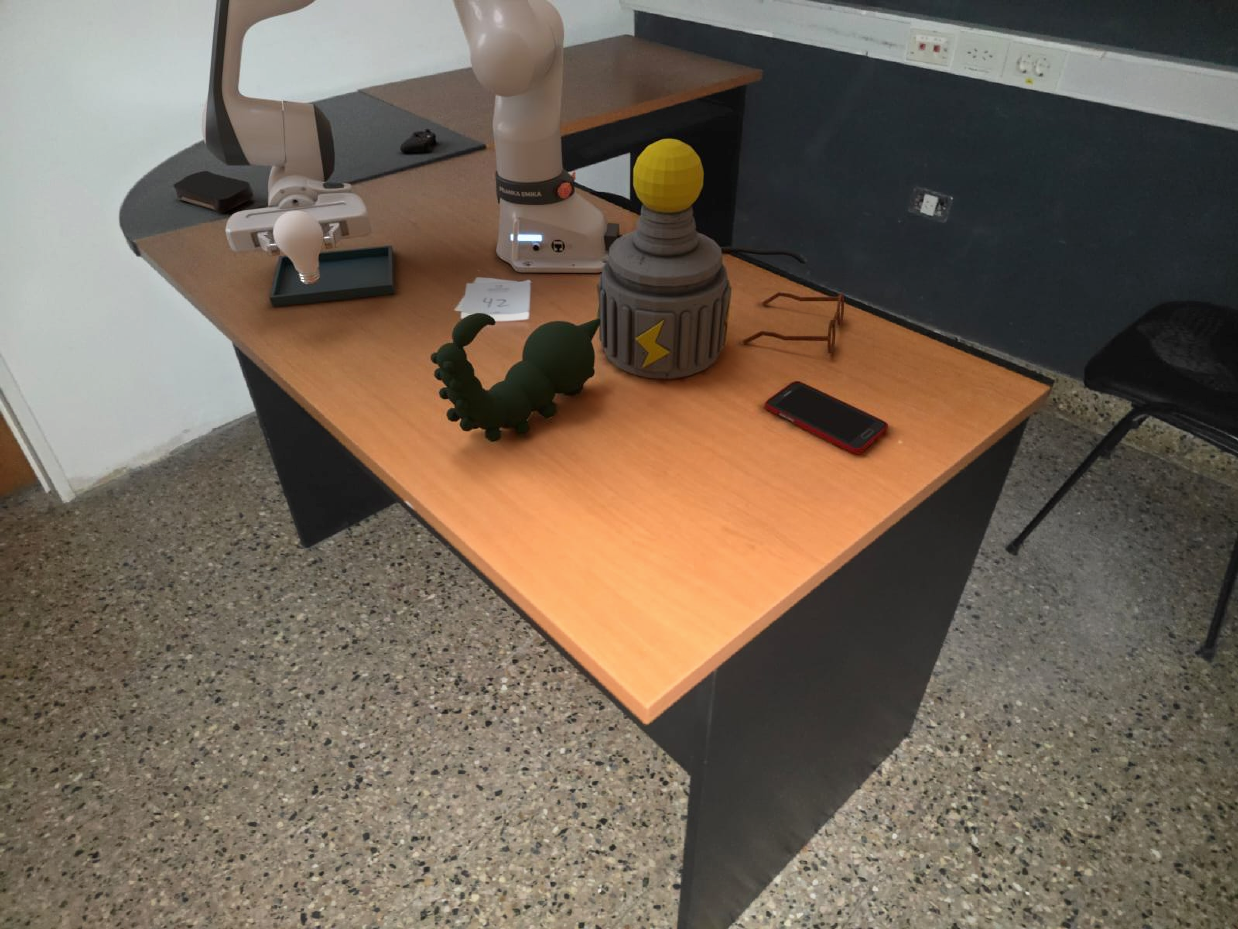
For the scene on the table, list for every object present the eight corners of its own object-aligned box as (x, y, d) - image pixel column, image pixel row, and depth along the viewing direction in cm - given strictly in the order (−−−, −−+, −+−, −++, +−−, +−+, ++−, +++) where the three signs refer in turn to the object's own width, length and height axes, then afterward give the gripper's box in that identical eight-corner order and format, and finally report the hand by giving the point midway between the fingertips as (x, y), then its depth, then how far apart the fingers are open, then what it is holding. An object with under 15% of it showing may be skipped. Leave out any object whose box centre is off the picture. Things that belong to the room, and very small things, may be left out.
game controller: (411, 135, 187) (425, 117, 184) (429, 152, 189) (443, 135, 186) (397, 149, 180) (411, 131, 177) (415, 167, 182) (430, 149, 179)
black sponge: (260, 201, 160) (255, 183, 157) (225, 216, 154) (219, 197, 152) (208, 186, 166) (202, 169, 164) (172, 200, 161) (165, 182, 158)
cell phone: (857, 457, 98) (859, 451, 97) (761, 408, 105) (762, 402, 105) (889, 429, 102) (891, 423, 101) (794, 384, 110) (795, 378, 109)
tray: (393, 253, 141) (391, 245, 140) (394, 293, 130) (392, 284, 129) (281, 265, 138) (279, 255, 137) (272, 306, 127) (269, 297, 126)
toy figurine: (488, 479, 98) (628, 382, 109) (456, 354, 84) (619, 260, 96) (443, 445, 103) (582, 356, 114) (406, 323, 89) (567, 236, 101)
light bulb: (316, 269, 121) (297, 199, 114) (344, 281, 118) (327, 210, 111) (279, 286, 117) (257, 214, 110) (307, 299, 114) (287, 226, 107)
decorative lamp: (719, 390, 109) (740, 172, 89) (586, 376, 112) (578, 162, 92) (729, 321, 123) (750, 121, 104) (611, 311, 126) (609, 113, 106)
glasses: (830, 361, 114) (836, 331, 111) (742, 344, 118) (745, 314, 115) (843, 318, 124) (849, 289, 121) (762, 303, 127) (765, 275, 124)
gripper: (220, 198, 118) (216, 236, 108) (361, 182, 123) (369, 216, 113) (234, 238, 122) (231, 278, 112) (369, 220, 127) (378, 257, 117)
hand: (301, 247), depth 113 cm, fingers closed on light bulb, 6 cm apart
